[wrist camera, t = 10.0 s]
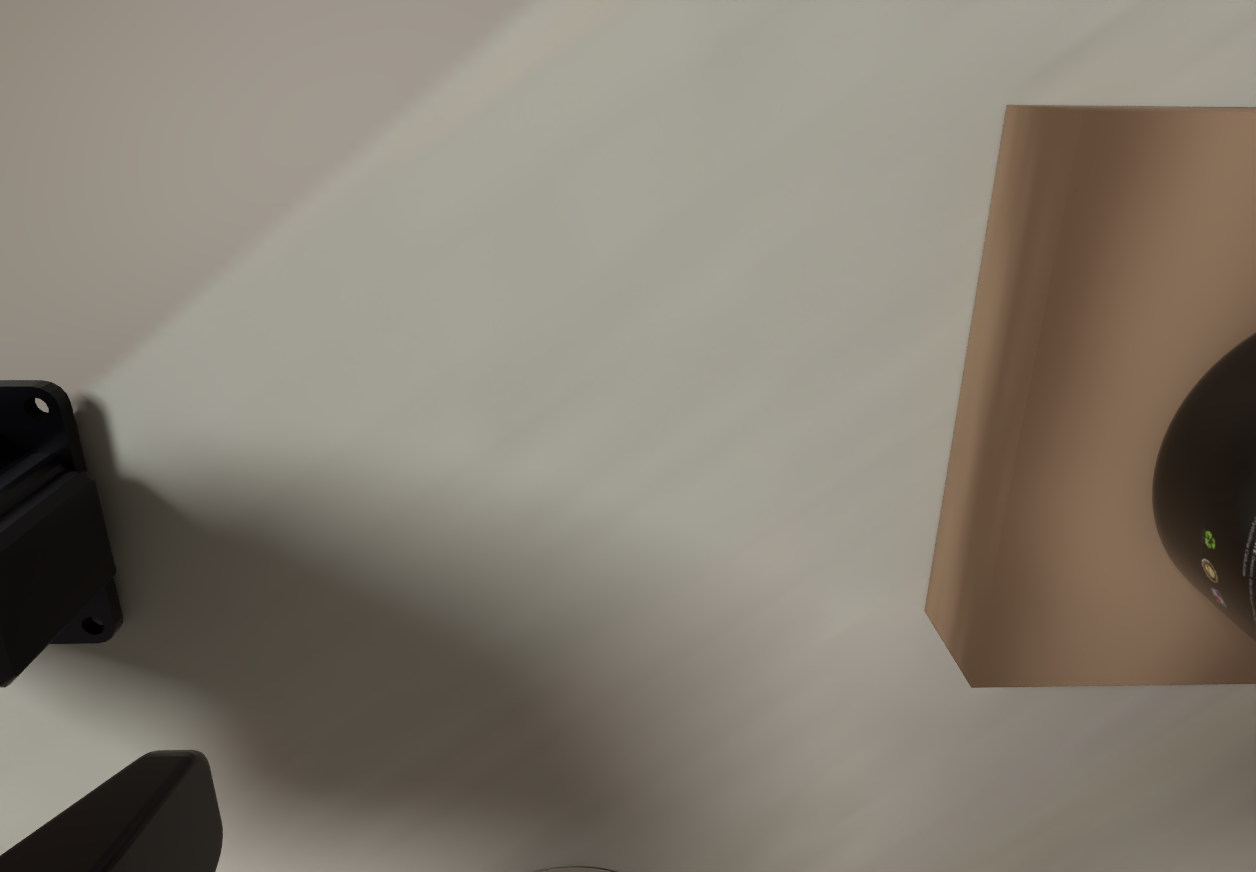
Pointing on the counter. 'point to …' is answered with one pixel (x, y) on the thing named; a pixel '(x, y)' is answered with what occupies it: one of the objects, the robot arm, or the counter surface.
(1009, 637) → the walnut plinth
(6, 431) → the robot arm
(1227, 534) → the supplement bottle
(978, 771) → the counter surface
